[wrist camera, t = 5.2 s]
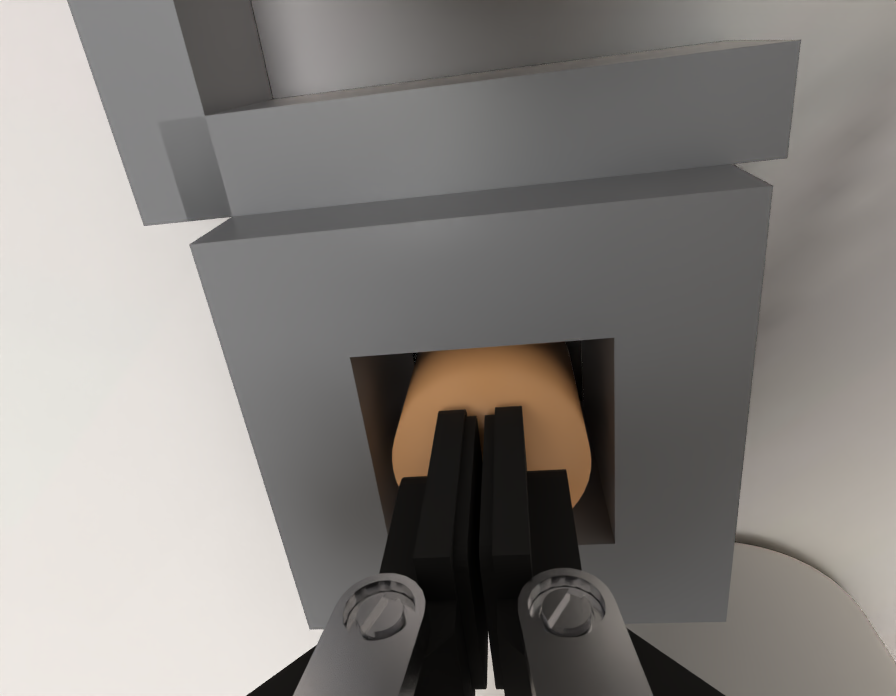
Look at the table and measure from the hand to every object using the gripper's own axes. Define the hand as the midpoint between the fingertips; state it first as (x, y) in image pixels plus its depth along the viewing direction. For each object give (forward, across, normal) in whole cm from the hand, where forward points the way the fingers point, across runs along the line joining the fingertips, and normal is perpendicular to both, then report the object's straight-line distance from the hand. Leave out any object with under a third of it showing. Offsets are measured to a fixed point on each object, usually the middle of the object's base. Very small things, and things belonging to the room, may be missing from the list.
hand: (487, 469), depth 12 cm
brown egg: (+4, 0, 0) cm, 4 cm away
